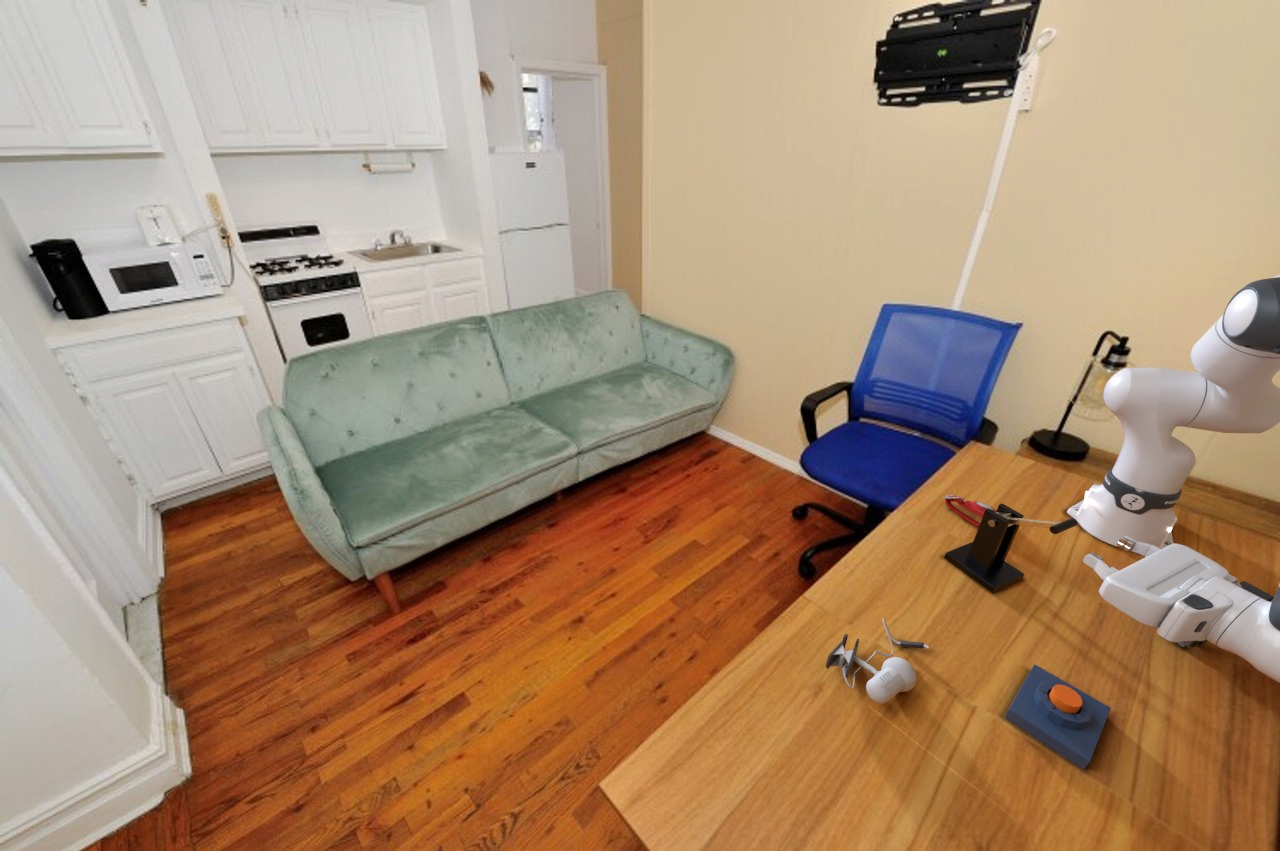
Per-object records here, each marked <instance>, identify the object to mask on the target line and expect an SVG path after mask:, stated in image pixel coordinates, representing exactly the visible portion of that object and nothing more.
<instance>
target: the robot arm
mask: <svg viewBox="0 0 1280 851" xmlns="http://www.w3.org/2000/svg"><path fill="white" fill-rule="evenodd" d="M1190 361H1191V365H1192V366H1193V368H1194V369H1195V371H1191V370H1184V369H1175V368H1167V367H1158V366H1147V367H1145V366H1144V367H1141V366H1140V367H1139V366H1138V367H1125V368H1122V369H1121V370H1118V371H1117V372H1115V373H1114V374H1113V375H1112V376H1111V377H1110V378H1109V379H1108V380H1107V382H1106V383H1105V385H1104V389H1103V400H1104V403H1105V406H1106V408H1107V409H1108V410H1109V411H1110V412H1111V413H1112V414H1114V416H1115V417H1116V418H1117V419H1118V420H1119V422H1120V424H1121V426H1122V429H1123V433H1124V434H1123V435H1124V438H1123V443H1122V446H1121V449H1120V452H1119V454H1118V457H1117V459H1116V460H1115V463H1114V465H1113V467H1111V468H1110V469H1109V470H1108V471H1107V472H1106V474H1105V476H1104V478H1103V481H1102V483H1101V484H1097V483H1094V484H1092V485H1091V487H1089V489H1088V490H1086V491H1085V493H1084V499H1082V500H1080V501H1079V502H1077V503H1076V504H1074V505H1072V506H1070V507H1069V508H1068V509H1067V511H1066V513H1067V514H1068V515H1069V516H1070V518H1074V519H1076V520H1077V522H1078V524H1079V525H1080V527H1081V528H1082V529H1083V530H1084V531H1086V533H1088V534H1089V535H1091V536H1093V537H1095V538H1096V539H1098V540H1100V541H1102V542H1104V543H1106V544H1109V545H1111V546H1114V547H1118V548H1119V549H1122V550H1123V551H1125V552H1127V553H1129V552H1133V553H1136V554H1138V555H1141V556H1143V557H1144V558H1141V559H1140V560H1138V561H1135V562H1134V563H1131V564H1130V565H1128V566H1126V567H1124V568H1122V569H1117V568H1116V567H1114V566H1109V565H1108V564H1106V563H1105V561H1103V560H1104V557H1102V556H1100V555H1098V554H1097V553H1095V552H1089V553H1087V554H1085V555H1084V557H1083V559H1082V562H1083V564H1084V565H1086V566H1088V567H1090V568H1091V569H1093V571H1094V572H1095V573H1096V574H1097V576H1099V578H1100V579H1101V580H1102V581H1103V582H1102V583H1101V585H1100V586H1099V589H1098V594H1099V595H1100V596H1101V598H1102V599H1103V600H1104V601H1105V602H1106V603H1108V604H1109V605H1111V606H1112V607H1114V608H1116V610H1119V611H1120V612H1122V613H1123V614H1125V615H1127V616H1128V617H1129V618H1131V619H1133V620H1135V621H1137V622H1139V623H1140V624H1143V625H1145V626H1147V627H1152V628H1157V629H1156V634H1157V635H1158V636H1160V637H1161V638H1163V639H1164V640H1166V641H1168V642H1171V643H1178V642H1183V641H1205V640H1207V642H1209V643H1210V644H1213V645H1214V646H1216V647H1217V648H1219V649H1221V650H1224V651H1226V652H1229V653H1232V654H1234V655H1236V656H1239V657H1240V658H1242V659H1243V660H1245V661H1246V662H1248V663H1249V664H1250V665H1251V666H1252V667H1253V668H1255V670H1257V671H1258V672H1260V673H1261V674H1263V675H1265V676H1267V677H1268V678H1269V679H1272V680H1273V681H1275V682H1277V683H1279V684H1280V583H1279V584H1278V589H1277V590H1276V593H1275V595H1274V598H1273V600H1272V601H1271V602H1269V601H1266V600H1264V599H1262V598H1260V597H1258V596H1257V595H1254V594H1252V593H1251V592H1249V591H1247V590H1245V589H1243V588H1242V586H1241V585H1240V581H1239V580H1238V578H1237V577H1235V576H1234V575H1232V574H1229V570H1227V569H1226V568H1225V567H1224V566H1223V565H1221V564H1219V563H1217V562H1216V561H1214V560H1213V559H1211V558H1209V557H1207V556H1206V555H1204V554H1202V553H1200V552H1198V551H1197V550H1195V549H1193V548H1191V547H1190V546H1187V545H1184V544H1180V543H1175V542H1174V538H1173V537H1174V536H1173V532H1172V530H1173V528H1174V526H1175V525H1176V523H1177V521H1178V517H1177V514H1176V512H1175V510H1174V507H1175V505H1176V504H1177V503H1178V502H1179V500H1180V498H1181V495H1182V493H1183V492H1182V488H1183V486H1184V484H1185V483H1186V481H1187V479H1188V478H1189V477H1190V476H1189V475H1190V474H1191V472H1192V471H1193V469H1194V467H1195V466H1196V462H1197V459H1196V454H1195V452H1194V451H1193V449H1192V448H1191V447H1190V446H1188V444H1186V443H1184V442H1183V441H1182V440H1180V439H1178V438H1177V437H1175V436H1173V431H1174V430H1175V429H1176V427H1177V428H1178V427H1184V428H1190V429H1196V430H1202V431H1208V432H1215V433H1221V434H1262V433H1265V432H1267V431H1269V430H1271V429H1273V428H1274V427H1275V426H1277V425H1278V424H1279V423H1280V387H1279V386H1277V385H1276V384H1275V383H1274V382H1273V378H1274V376H1276V374H1278V372H1279V371H1280V274H1278V275H1273V276H1271V277H1270V278H1263V279H1258V280H1254V281H1252V282H1251V281H1250V282H1249V283H1248V284H1246V285H1245V286H1243V287H1242V288H1241V289H1239V290H1238V291H1236V293H1235V294H1234V295H1233V296H1232V297H1231V299H1230V300H1229V301H1228V303H1227V305H1226V306H1225V309H1224V312H1223V314H1222V315H1221V316H1220V317H1219V318H1218V319H1217V320H1216V321H1215V322H1214V323H1213V325H1211V326H1210V327H1209V329H1207V331H1206V332H1205V333H1203V335H1202V336H1201V337H1200V338H1199V339H1198V340H1197V341H1196V342H1195V344H1193V346H1192V349H1191V352H1190Z"/></svg>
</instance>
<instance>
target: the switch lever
mask: <svg viewBox="0 0 1280 851" xmlns="http://www.w3.org/2000/svg"><path fill="white" fill-rule="evenodd" d="M996 513H998V514H999V515H1001V516H1003V517H1004V518H1006V519H1008V520H1010V523H1009V526H1012V525H1014V524H1016V525H1020V526H1027V527H1035V528H1044V529H1049V532H1050V533H1051V534H1053V535H1058V534H1061V533H1062V532H1065V531H1067V530H1070V529H1072V528H1074V527H1076V526H1077V525H1078V524H1079V523H1078V521H1077V520H1076V519H1074V518H1073V517H1070V518H1067V519H1066V520H1063V521H1052V520H1042V519H1033V518H1032V519H1031V518H1023V519H1022V518H1012V515H1011V513H1004V512H996ZM1009 526H1008V527H1009Z"/></svg>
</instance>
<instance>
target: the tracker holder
mask: <svg viewBox="0 0 1280 851" xmlns="http://www.w3.org/2000/svg"><path fill="white" fill-rule="evenodd" d="M942 499H944V502H945V505H946V506H947V507H948V508H949V509H950V510H951V511H952V512H954V513H955V514H956V515H958V516H960V517H961V518H963V519H965V520H966V521H967V522H969V523H970V524H972V525H973V526H977V527H979V525H980V522H978V521H977V520H975V519H974V518H973V517H971V516H969V515H968V514H966V513H965V512H964V511H962V510H960V509H958V508H957V507H956V506H955V505H954V504H953V503H957V505H959V506H961V507H963V508H965V509H966V510H968V511H969V512H972V513H973V514H975V515H977V516H979V517H980V518H982V517H983V515H984V512H985V510H986V509H988V508H989V509H991V510H993V511H994V512H996V511H997V509H995V508H993V507H992V506H991V505H989V504H986V503H984V502H981V501H972V500H965V497H961V496H958V495H952V494H951V495H945V496H943V497H942ZM964 500H965V501H964Z"/></svg>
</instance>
